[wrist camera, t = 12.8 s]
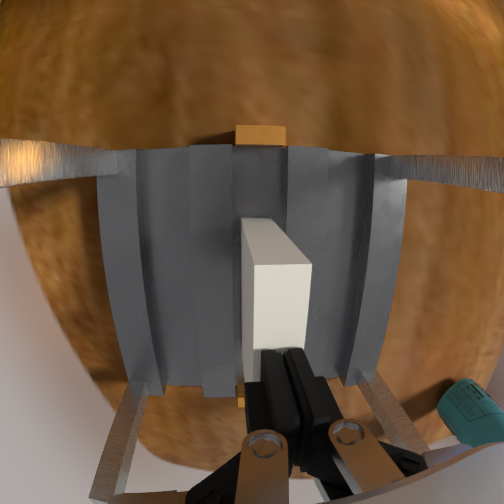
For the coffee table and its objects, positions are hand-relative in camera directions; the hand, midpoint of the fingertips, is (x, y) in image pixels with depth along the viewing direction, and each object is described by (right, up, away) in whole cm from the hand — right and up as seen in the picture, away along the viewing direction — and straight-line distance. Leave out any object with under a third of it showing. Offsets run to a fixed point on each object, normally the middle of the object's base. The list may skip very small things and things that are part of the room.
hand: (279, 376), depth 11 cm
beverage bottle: (+25, -13, +17) cm, 33 cm away
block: (-1, +3, +10) cm, 10 cm away
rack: (-1, +3, +10) cm, 11 cm away
